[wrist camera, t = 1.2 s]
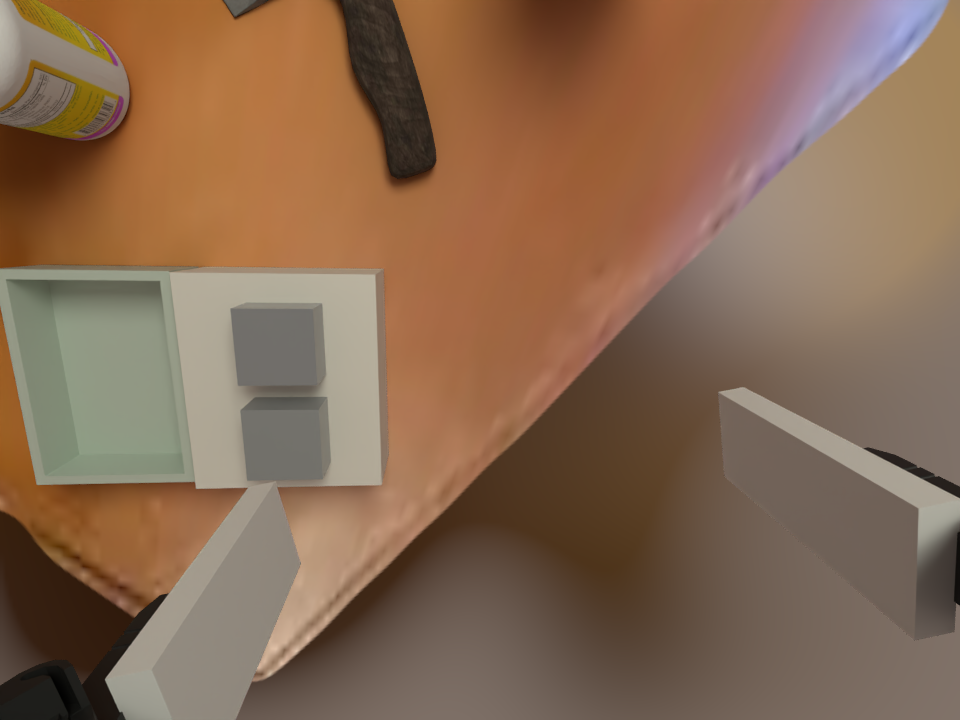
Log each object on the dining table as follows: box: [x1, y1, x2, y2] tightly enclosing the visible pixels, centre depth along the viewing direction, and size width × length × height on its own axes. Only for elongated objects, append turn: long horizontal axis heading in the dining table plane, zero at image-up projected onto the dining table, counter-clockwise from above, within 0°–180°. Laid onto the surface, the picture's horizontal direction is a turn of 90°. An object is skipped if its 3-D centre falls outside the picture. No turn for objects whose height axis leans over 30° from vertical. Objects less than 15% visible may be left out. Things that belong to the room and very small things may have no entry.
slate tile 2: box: [230, 302, 326, 386], centre depth 31 cm, size 4×4×2 cm
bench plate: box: [169, 267, 389, 489], centre depth 35 cm, size 12×14×5 cm
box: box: [0, 265, 198, 485], centre depth 35 cm, size 10×14×4 cm
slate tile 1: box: [240, 397, 331, 481], centre depth 32 cm, size 4×4×2 cm
